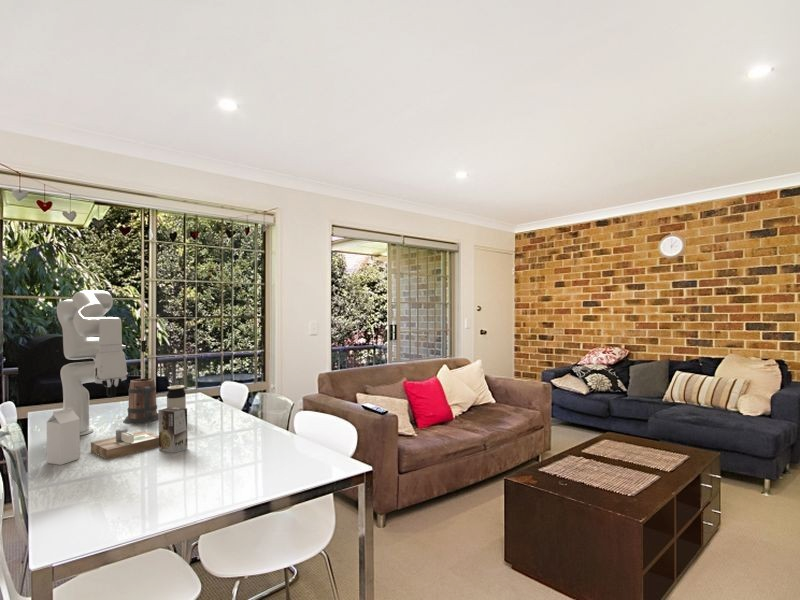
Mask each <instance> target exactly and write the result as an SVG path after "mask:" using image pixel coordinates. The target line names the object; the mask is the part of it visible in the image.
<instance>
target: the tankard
mask: <svg viewBox="0 0 800 600" xmlns="http://www.w3.org/2000/svg"><path fill="white" fill-rule="evenodd" d="M156 390H157V386H156V384H155V379H154V378H153V377H151V378H150V377H149V378H136V379H132V380H131V379H130V383H129V388H128V403H127V404H128V407H127V416H126V417H124V418H125V419H124V420H123V421H122V423H123V424H126V425H139V424H148V423H153V422H157V421H159V416H158V412H157V411H158V410H157V409H158V405H157V397H156V396H157V395H156V393H157V391H156Z"/></svg>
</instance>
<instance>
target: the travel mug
mask: <svg viewBox="0 0 800 600" xmlns="http://www.w3.org/2000/svg"><path fill="white" fill-rule="evenodd" d="M167 391H168V392H167V394H166V408H168V407H179V408H186V406H187V405H186V391H185V385H183V384H181V385H179V384H177V385H176V384H175V385H171V386H170V385H169V386H167Z"/></svg>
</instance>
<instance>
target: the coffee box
mask: <svg viewBox="0 0 800 600" xmlns="http://www.w3.org/2000/svg"><path fill="white" fill-rule="evenodd" d="M157 411H158V412H157V413H158V416H159V420H158V436H159V446H158V450H159V451H160V452H166V453H171V454H172V453H173V454H177V453H179V452H183V451H185V450H188V449H189V448H188V446H189V445H188V408H179V407H168V408H167V407H165V408H162V409H158V410H157Z"/></svg>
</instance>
